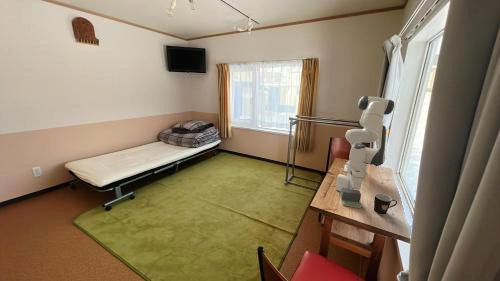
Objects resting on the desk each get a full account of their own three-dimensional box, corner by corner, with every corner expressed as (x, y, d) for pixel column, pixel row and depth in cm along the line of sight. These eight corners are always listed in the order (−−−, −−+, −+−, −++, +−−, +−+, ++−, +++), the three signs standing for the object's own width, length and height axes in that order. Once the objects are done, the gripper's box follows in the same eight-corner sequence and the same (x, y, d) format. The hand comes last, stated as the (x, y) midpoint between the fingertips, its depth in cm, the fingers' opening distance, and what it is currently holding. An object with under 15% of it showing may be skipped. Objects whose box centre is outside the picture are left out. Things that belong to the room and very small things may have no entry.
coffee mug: (371, 212, 118) (374, 198, 116) (372, 205, 125) (375, 191, 123) (394, 220, 112) (398, 204, 109) (394, 212, 119) (398, 197, 116)
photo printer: (334, 189, 145) (336, 173, 142) (338, 187, 147) (340, 172, 144) (347, 195, 136) (349, 179, 133) (350, 194, 139) (353, 178, 135)
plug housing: (340, 195, 134) (341, 187, 132) (357, 198, 131) (359, 190, 129) (341, 199, 129) (343, 191, 128) (359, 202, 126) (361, 194, 125)
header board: (339, 194, 138) (340, 188, 137) (355, 196, 136) (356, 190, 134) (343, 205, 125) (344, 198, 124) (360, 208, 123) (361, 201, 121)
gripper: (346, 162, 135) (343, 181, 138) (353, 175, 116) (349, 196, 119) (356, 163, 133) (353, 182, 137) (365, 176, 114) (361, 197, 118)
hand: (351, 188), depth 128 cm, fingers closed
